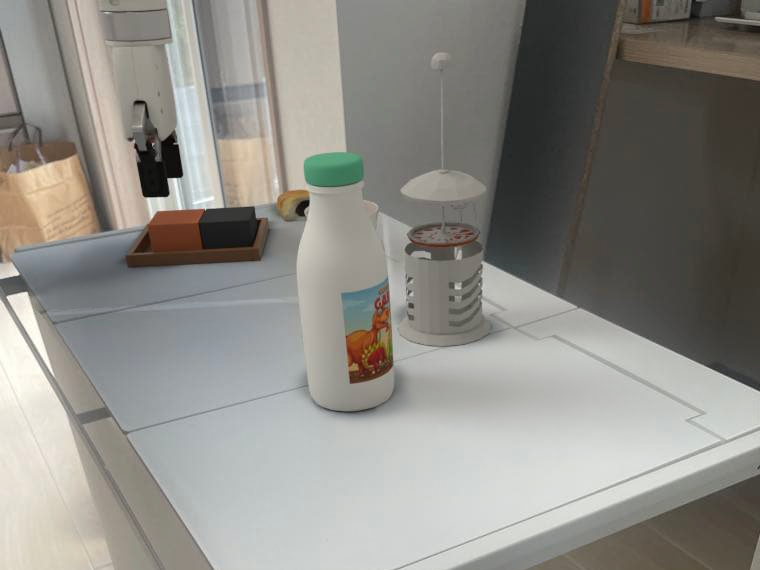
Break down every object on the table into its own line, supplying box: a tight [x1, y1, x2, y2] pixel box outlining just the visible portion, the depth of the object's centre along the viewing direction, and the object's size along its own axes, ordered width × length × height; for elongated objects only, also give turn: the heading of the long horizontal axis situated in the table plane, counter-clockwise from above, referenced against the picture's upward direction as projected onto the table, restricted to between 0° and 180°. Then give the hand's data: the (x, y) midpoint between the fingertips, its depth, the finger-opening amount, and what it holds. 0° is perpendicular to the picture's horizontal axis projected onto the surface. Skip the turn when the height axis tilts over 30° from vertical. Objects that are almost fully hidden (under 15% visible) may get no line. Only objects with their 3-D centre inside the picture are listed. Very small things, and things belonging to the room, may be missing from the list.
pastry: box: [275, 189, 310, 222], centre depth 122 cm, size 9×7×4 cm
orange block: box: [146, 208, 206, 252], centre depth 109 cm, size 6×6×4 cm
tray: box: [124, 217, 270, 269], centre depth 110 cm, size 17×14×2 cm
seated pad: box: [199, 205, 258, 250], centre depth 110 cm, size 6×6×4 cm
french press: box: [397, 51, 492, 347], centre depth 81 cm, size 10×12×25 cm
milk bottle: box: [296, 151, 395, 412], centre depth 70 cm, size 8×8×20 cm
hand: (164, 186), depth 106 cm, fingers open, 9 cm apart
